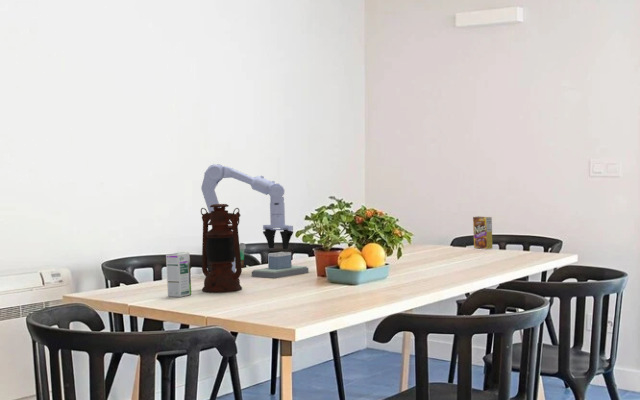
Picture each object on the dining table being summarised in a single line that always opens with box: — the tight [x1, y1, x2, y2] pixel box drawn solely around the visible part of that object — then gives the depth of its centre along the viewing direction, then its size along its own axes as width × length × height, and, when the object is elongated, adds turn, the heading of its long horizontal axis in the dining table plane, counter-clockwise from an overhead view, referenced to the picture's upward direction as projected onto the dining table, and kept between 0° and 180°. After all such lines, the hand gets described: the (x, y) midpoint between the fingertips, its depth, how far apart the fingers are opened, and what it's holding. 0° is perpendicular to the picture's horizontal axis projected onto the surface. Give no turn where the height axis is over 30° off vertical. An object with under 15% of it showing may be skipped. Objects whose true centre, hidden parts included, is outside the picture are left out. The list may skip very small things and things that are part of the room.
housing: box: [267, 251, 293, 270], centre depth 353 cm, size 5×8×6 cm, turn 140°
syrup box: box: [165, 251, 192, 298], centre depth 303 cm, size 6×6×14 cm
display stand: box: [251, 264, 310, 279], centre depth 353 cm, size 20×12×2 cm, turn 140°
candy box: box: [472, 216, 493, 250], centre depth 434 cm, size 9×4×15 cm, turn 35°
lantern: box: [200, 203, 243, 294], centre depth 313 cm, size 17×14×30 cm
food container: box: [235, 242, 247, 270], centre depth 381 cm, size 12×6×10 cm, turn 143°
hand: (278, 248), depth 356 cm, fingers open, 7 cm apart
